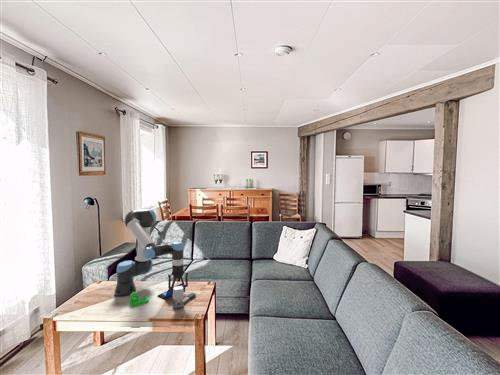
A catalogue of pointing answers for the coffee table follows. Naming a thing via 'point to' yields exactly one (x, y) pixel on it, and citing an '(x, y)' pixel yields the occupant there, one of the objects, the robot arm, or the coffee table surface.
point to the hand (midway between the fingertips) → (178, 297)
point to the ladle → (182, 301)
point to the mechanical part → (137, 300)
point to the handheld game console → (167, 293)
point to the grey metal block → (178, 293)
